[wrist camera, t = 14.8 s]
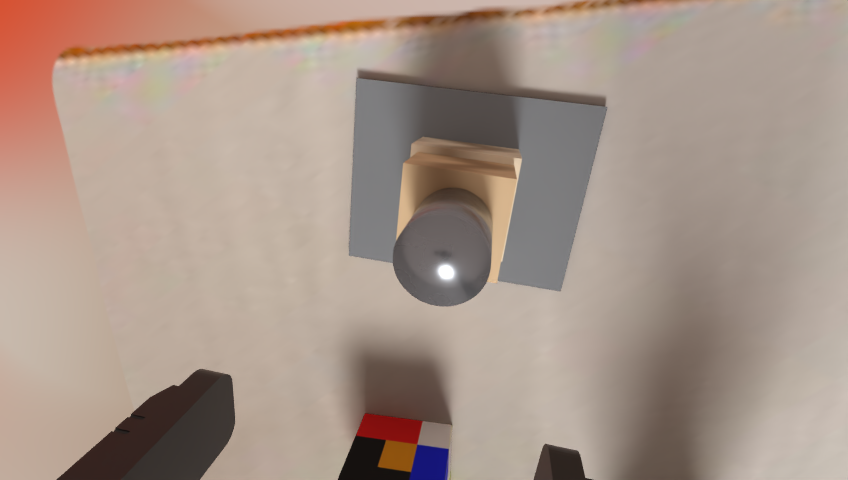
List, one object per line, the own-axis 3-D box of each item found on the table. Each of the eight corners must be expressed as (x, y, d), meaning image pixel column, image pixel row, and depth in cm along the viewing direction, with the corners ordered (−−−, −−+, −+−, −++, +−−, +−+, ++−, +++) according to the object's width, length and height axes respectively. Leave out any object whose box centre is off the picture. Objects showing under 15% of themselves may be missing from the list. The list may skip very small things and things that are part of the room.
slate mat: (605, 106, 32) (607, 107, 31) (559, 288, 38) (560, 291, 37) (358, 78, 34) (356, 77, 34) (350, 253, 40) (348, 255, 40)
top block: (514, 165, 29) (517, 179, 25) (497, 255, 32) (496, 283, 27) (417, 151, 30) (403, 163, 25) (408, 240, 33) (393, 265, 28)
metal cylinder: (499, 193, 25) (499, 223, 20) (485, 267, 27) (482, 314, 21) (419, 181, 26) (397, 207, 20) (411, 255, 27) (388, 297, 22)
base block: (518, 149, 34) (522, 158, 29) (501, 240, 36) (502, 261, 32) (423, 136, 35) (411, 143, 30) (413, 225, 37) (401, 245, 33)
